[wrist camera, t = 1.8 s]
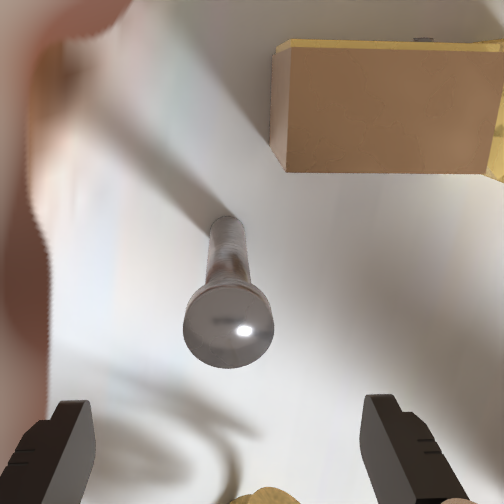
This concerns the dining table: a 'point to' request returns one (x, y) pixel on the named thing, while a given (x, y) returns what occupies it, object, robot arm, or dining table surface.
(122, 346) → the dining table surface
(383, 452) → the robot arm
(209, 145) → the dining table surface
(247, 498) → the wall sconce
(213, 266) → the hinge pin
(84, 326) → the dining table surface
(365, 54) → the hinge block
